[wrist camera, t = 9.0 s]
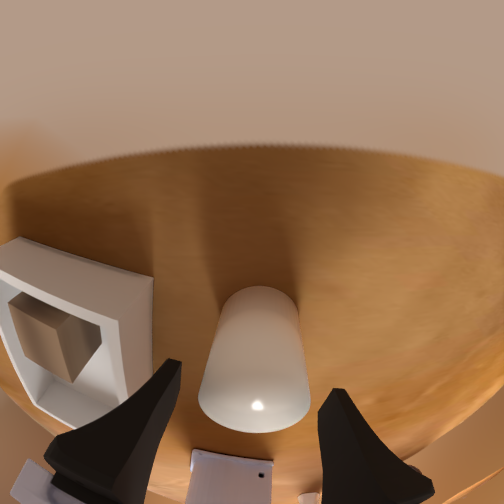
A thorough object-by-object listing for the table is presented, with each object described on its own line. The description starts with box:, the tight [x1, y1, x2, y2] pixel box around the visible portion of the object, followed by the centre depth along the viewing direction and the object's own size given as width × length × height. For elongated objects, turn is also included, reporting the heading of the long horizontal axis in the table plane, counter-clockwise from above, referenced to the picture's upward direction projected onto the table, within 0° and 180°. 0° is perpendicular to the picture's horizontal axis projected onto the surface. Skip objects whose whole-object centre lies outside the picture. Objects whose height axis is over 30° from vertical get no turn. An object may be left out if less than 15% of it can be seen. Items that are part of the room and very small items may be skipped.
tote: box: [0, 236, 154, 429], centre depth 17 cm, size 14×18×5 cm
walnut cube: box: [7, 291, 102, 384], centre depth 15 cm, size 5×5×5 cm
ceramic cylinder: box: [198, 286, 311, 433], centre depth 14 cm, size 5×5×7 cm
